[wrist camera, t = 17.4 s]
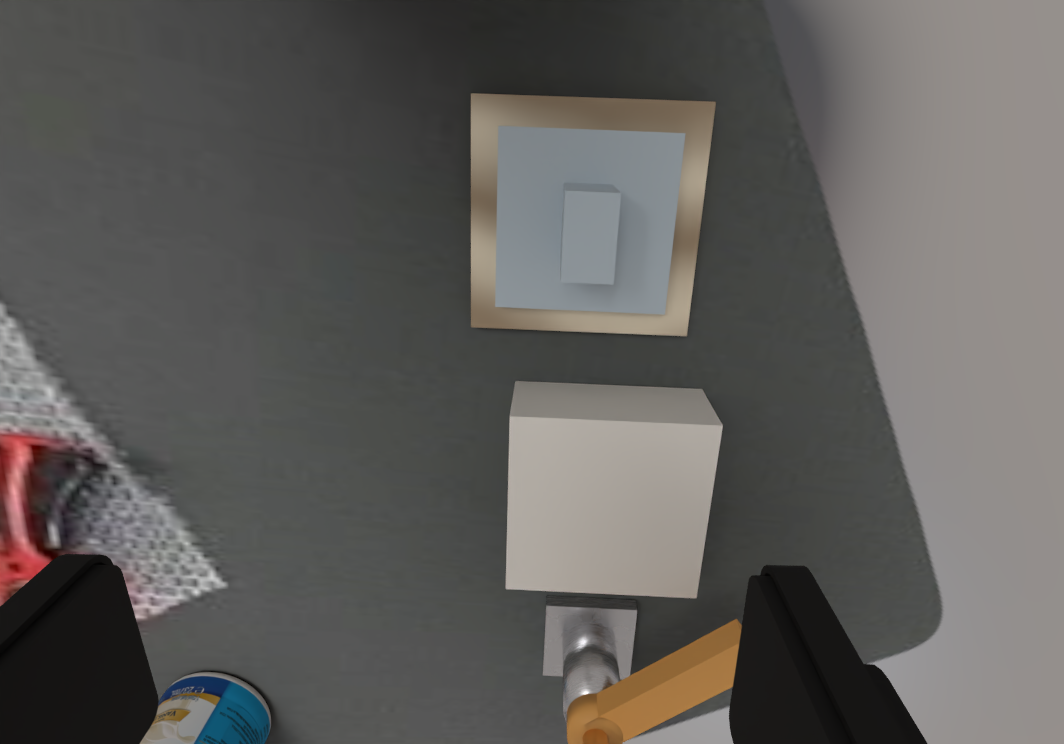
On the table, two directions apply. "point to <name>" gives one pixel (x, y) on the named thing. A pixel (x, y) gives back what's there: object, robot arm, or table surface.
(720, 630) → the latch
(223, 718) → the beverage bottle
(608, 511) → the housing
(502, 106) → the pad
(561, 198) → the cover
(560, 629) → the grey square flange base
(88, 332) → the table surface
